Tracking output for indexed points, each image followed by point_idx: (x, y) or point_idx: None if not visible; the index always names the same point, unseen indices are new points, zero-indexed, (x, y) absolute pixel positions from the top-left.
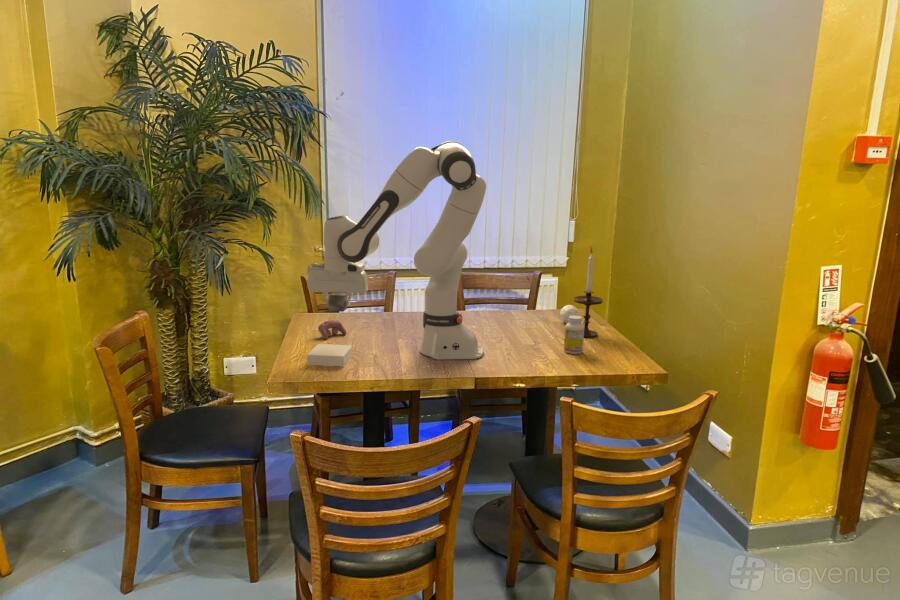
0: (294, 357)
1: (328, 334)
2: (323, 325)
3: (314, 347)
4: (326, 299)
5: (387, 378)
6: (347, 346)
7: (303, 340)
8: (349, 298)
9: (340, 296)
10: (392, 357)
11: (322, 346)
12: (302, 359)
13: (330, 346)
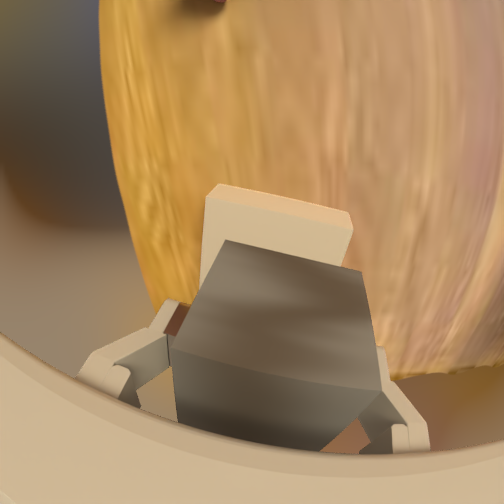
0: (152, 217)
1: None
2: None
3: (202, 241)
4: (157, 364)
5: (400, 371)
6: (332, 240)
7: (137, 28)
8: (374, 428)
9: (289, 446)
10: (464, 246)
11: (229, 231)
12: (180, 237)
13: (262, 234)
